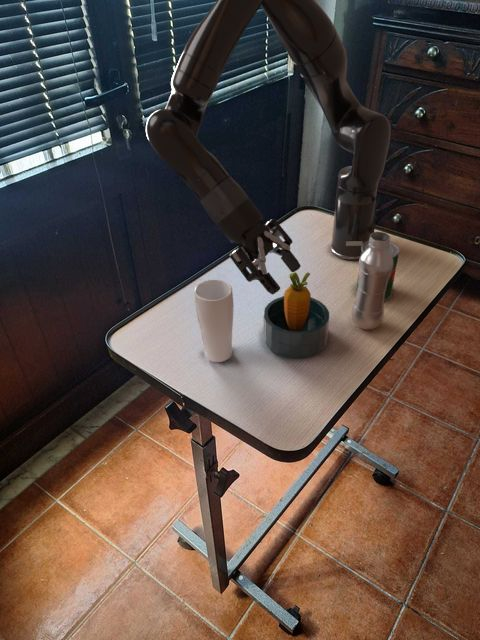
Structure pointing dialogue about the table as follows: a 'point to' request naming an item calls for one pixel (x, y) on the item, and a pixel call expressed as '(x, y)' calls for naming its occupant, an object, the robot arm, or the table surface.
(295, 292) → the carrot
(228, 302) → the drinking glass
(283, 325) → the pot
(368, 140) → the robot arm
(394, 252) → the canned tomato
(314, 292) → the table surface
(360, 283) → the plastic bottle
